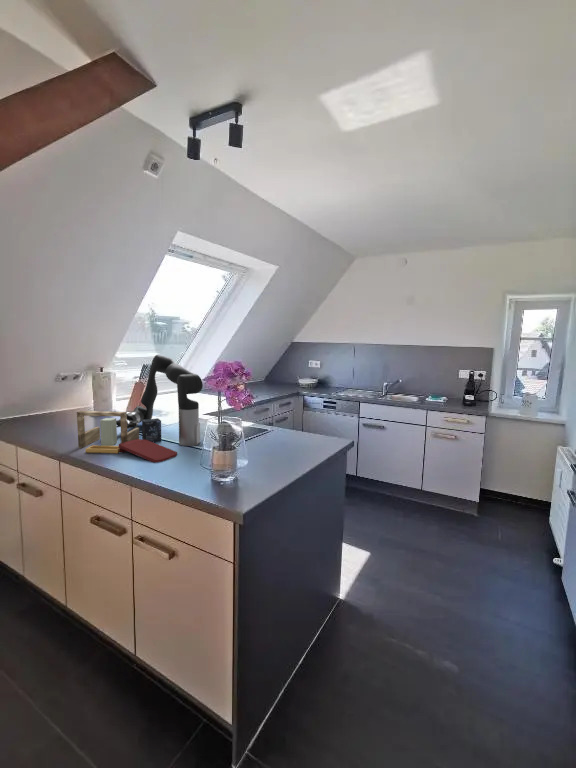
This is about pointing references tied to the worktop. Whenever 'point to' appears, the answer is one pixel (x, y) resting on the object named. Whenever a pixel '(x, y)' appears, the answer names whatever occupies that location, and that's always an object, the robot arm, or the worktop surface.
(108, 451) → the tray
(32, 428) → the worktop surface
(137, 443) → the dark red bent panel
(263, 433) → the worktop surface
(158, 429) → the box
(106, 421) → the block
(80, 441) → the tunnel
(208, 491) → the worktop surface
